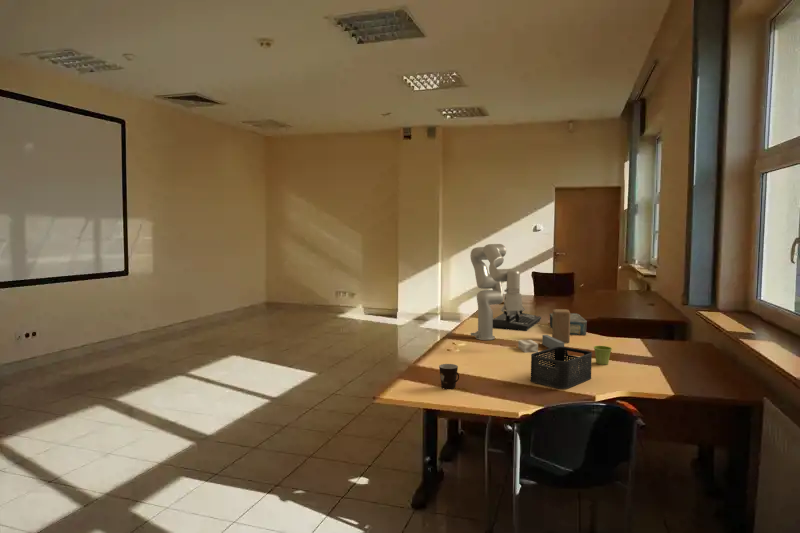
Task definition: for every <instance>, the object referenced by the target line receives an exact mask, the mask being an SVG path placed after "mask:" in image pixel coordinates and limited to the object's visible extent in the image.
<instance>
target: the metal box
mask: <svg viewBox="0 0 800 533" xmlns="http://www.w3.org/2000/svg"><path fill="white" fill-rule="evenodd" d="M552 321H553V312H552V313H549V327H550V328H551V329H552ZM587 322H588V321H587V319H585V318H584V317H583V316H581V315H580V314H579V313H571V312H570V336H586V335H587Z"/></svg>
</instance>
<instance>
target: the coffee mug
mask: <svg viewBox="0 0 800 533" xmlns="http://www.w3.org/2000/svg"><path fill="white" fill-rule="evenodd" d="M438 367H439V376H440V377H439V378H440V386H441V389H443V388H444V390H447V389H451V390H454V388H456V385H457V382H458V381H459V380H460V375H459V374H460V373H458V368H459V366H458V365H457V364H453V363H442V364H439V366H438Z"/></svg>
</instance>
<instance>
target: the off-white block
mask: <svg viewBox="0 0 800 533" xmlns="http://www.w3.org/2000/svg"><path fill="white" fill-rule="evenodd" d="M517 341H518V342H517V343H518V346H517V347H518V349H520V351H522V352H523V353H525V354H526V353H536V352H539V343H537V342H536V341H534V340H532V339H518V340H517Z"/></svg>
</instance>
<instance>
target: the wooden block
mask: <svg viewBox="0 0 800 533" xmlns="http://www.w3.org/2000/svg"><path fill="white" fill-rule="evenodd" d="M552 314H553V321H552V328H551V331H552V332H551V334H552V335H551V337H553V338H555V339H557V340H560V341H562V342H564V344H568V343H570V336H571V335H570V314H571V312H570V309H565V308H564V309H563V308H562V309H561V308H560V309H559V308H557V309H556V308H555V309H554V308H553V309H552Z"/></svg>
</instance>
